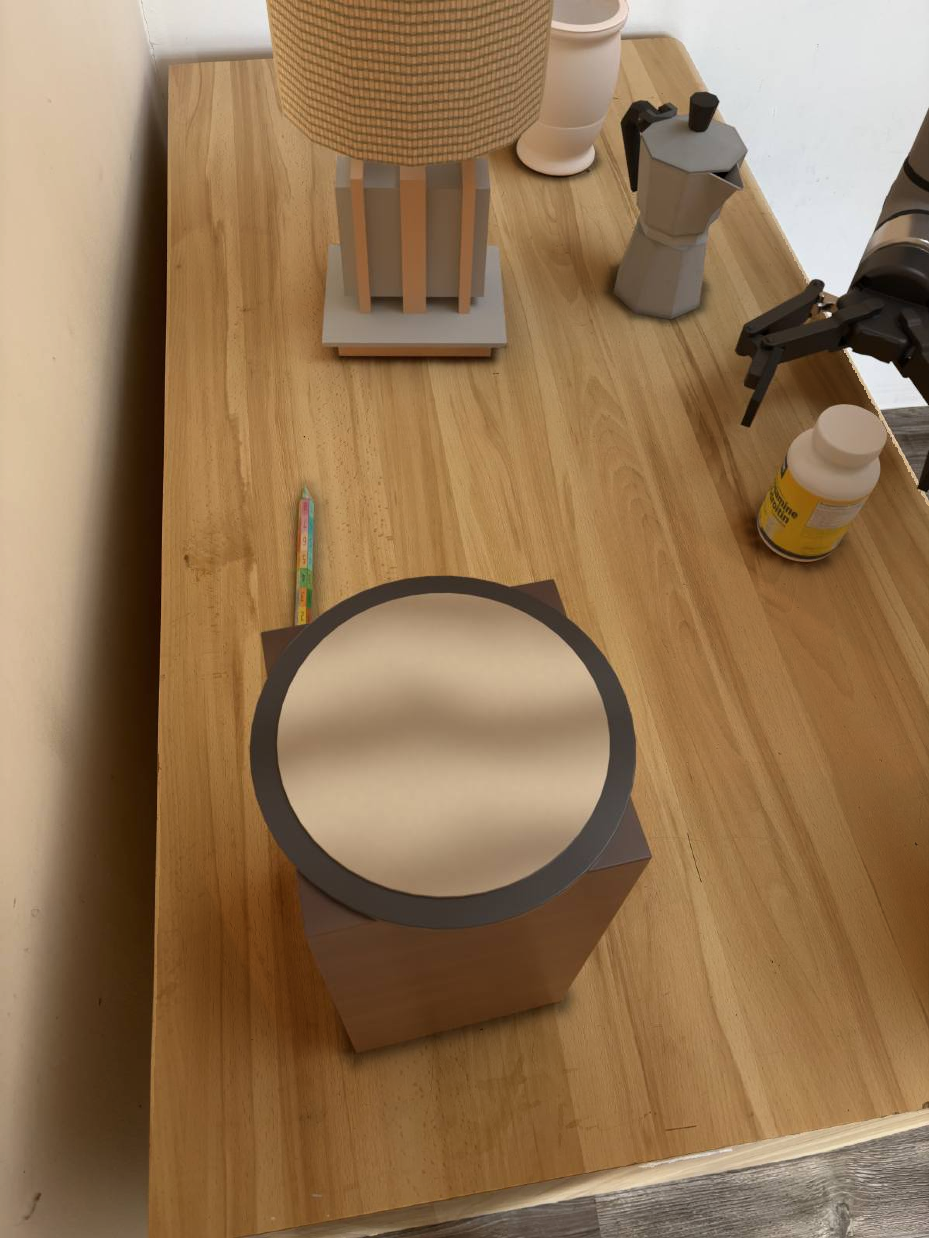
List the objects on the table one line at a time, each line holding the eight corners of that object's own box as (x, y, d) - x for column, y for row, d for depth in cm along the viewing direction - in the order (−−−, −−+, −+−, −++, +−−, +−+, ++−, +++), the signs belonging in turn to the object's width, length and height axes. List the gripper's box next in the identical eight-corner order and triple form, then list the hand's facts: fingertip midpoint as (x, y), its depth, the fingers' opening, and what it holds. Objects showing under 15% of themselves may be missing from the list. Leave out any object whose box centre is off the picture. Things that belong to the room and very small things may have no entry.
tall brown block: (582, 1015, 54) (694, 873, 31) (341, 1077, 51) (275, 973, 29) (518, 791, 61) (572, 545, 38) (304, 837, 59) (228, 606, 36)
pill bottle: (761, 491, 75) (811, 383, 66) (842, 513, 74) (905, 408, 65) (747, 551, 72) (798, 448, 62) (831, 576, 71) (896, 474, 61)
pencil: (299, 487, 74) (292, 686, 64) (297, 477, 73) (290, 679, 63) (315, 486, 74) (311, 686, 64) (314, 477, 73) (310, 678, 63)
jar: (623, 168, 99) (651, 15, 86) (540, 194, 96) (558, 39, 83) (568, 118, 104) (588, -34, 91) (488, 141, 101) (497, -12, 88)
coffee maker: (737, 312, 87) (802, 122, 72) (663, 344, 84) (715, 154, 69) (639, 226, 94) (679, 35, 78) (567, 253, 91) (595, 61, 76)
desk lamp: (300, 389, 80) (226, -100, 50) (313, 245, 90) (257, -229, 61) (528, 389, 81) (587, -91, 51) (514, 247, 91) (556, -220, 62)
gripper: (1025, 365, 80) (983, 539, 70) (747, 274, 85) (668, 423, 75) (1077, 292, 74) (1039, 472, 63) (772, 199, 79) (691, 350, 69)
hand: (838, 445), depth 69 cm, fingers open, 13 cm apart
